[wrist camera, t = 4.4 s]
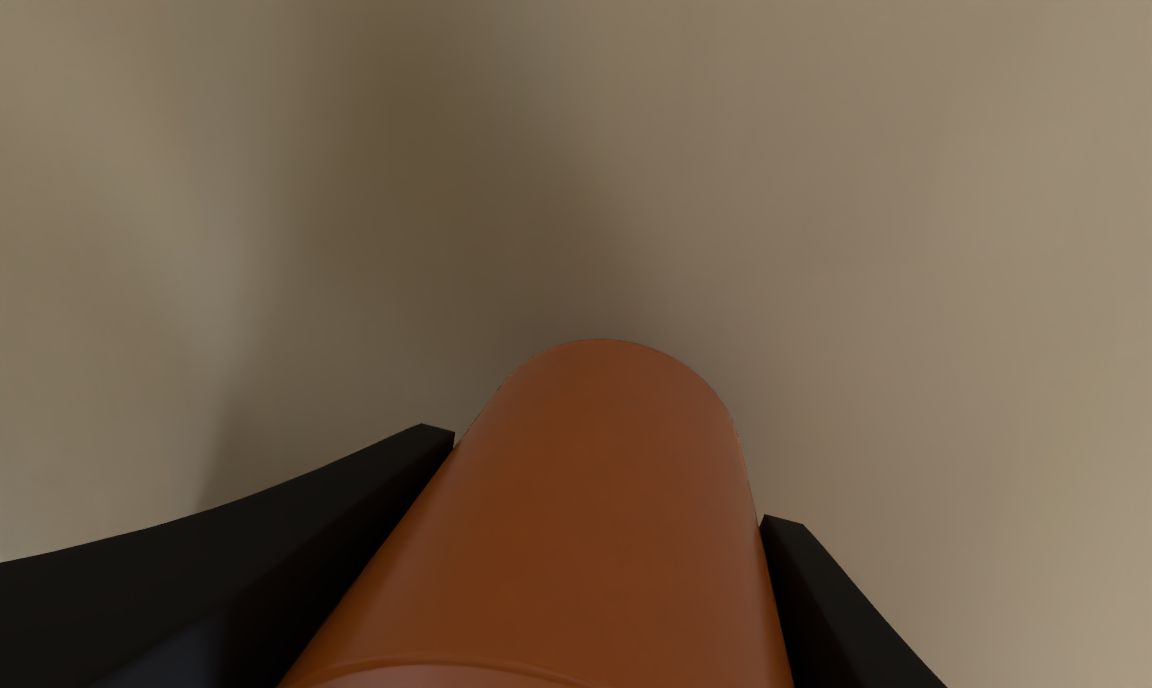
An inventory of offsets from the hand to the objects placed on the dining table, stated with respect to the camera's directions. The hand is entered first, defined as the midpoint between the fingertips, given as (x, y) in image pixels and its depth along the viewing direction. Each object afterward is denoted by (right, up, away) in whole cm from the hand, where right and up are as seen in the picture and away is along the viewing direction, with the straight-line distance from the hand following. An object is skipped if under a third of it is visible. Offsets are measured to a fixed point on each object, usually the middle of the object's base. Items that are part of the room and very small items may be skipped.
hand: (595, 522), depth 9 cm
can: (0, +1, +2) cm, 2 cm away
